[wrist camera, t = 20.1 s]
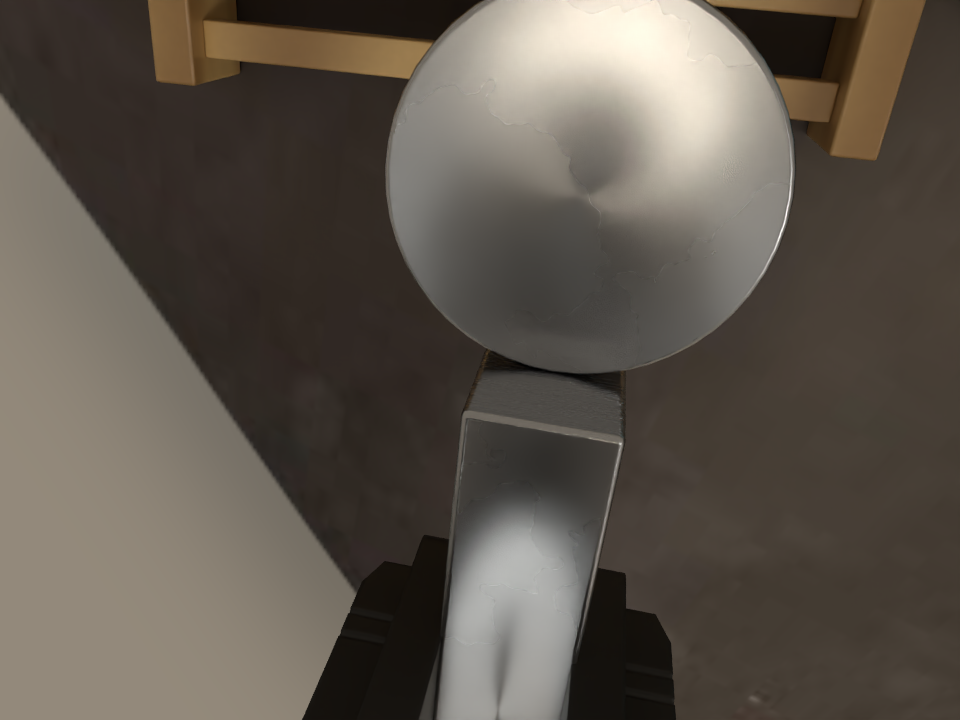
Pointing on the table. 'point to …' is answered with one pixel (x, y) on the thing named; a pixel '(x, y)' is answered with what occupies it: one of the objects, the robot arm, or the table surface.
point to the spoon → (571, 284)
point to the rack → (225, 41)
